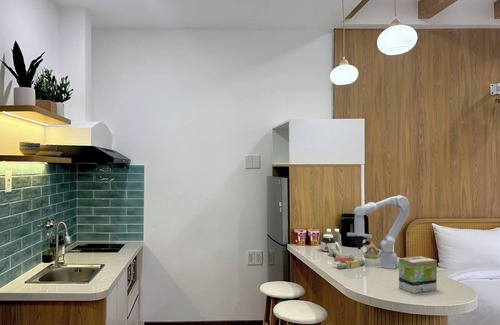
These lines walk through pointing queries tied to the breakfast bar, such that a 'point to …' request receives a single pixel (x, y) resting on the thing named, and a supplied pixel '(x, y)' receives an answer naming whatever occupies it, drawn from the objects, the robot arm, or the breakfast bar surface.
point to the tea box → (417, 274)
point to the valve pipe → (351, 264)
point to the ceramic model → (372, 251)
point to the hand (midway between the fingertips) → (359, 248)
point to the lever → (344, 258)
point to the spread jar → (328, 243)
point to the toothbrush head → (335, 253)
